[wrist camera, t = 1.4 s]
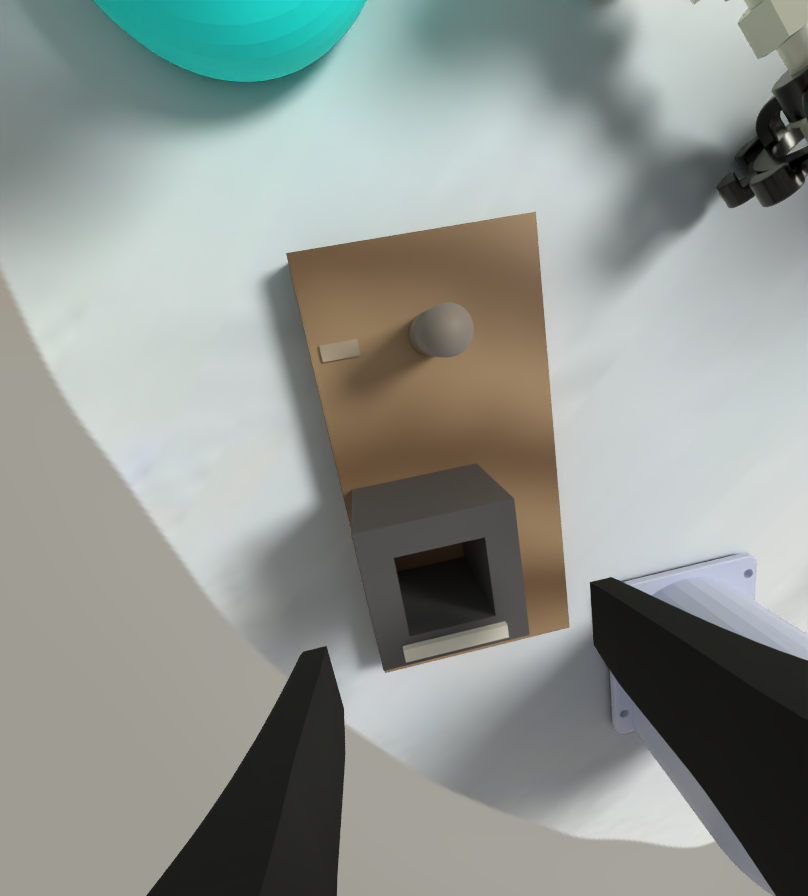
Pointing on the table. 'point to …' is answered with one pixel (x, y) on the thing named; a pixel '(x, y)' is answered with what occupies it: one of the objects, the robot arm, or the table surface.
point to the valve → (775, 107)
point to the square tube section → (440, 564)
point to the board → (442, 377)
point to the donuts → (236, 33)
